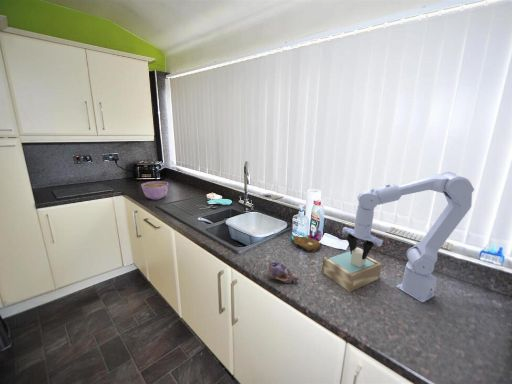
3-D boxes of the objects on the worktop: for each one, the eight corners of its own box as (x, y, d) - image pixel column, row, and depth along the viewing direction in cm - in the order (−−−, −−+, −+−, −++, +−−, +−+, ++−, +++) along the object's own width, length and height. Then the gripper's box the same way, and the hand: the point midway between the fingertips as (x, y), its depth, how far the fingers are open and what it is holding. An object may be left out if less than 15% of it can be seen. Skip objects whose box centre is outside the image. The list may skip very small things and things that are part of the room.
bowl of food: (174, 198, 189) (173, 184, 186) (149, 203, 175) (147, 188, 172) (162, 193, 202) (161, 180, 199) (138, 197, 188) (136, 183, 185)
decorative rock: (285, 244, 121) (312, 257, 111) (286, 237, 119) (312, 249, 110) (298, 236, 129) (323, 247, 119) (299, 230, 127) (324, 240, 118)
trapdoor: (328, 260, 96) (328, 258, 96) (351, 252, 103) (352, 250, 103) (350, 276, 87) (351, 273, 87) (374, 266, 94) (375, 263, 94)
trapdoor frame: (321, 271, 98) (323, 257, 96) (350, 261, 106) (352, 247, 104) (349, 291, 86) (352, 276, 84) (379, 278, 94) (382, 263, 93)
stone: (365, 263, 93) (367, 251, 91) (360, 267, 90) (362, 254, 89) (355, 259, 96) (357, 247, 94) (350, 263, 93) (352, 250, 92)
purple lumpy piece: (300, 279, 93) (302, 265, 91) (292, 290, 86) (294, 275, 85) (273, 269, 99) (274, 256, 97) (264, 279, 93) (264, 265, 91)
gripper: (388, 226, 85) (382, 260, 89) (350, 215, 96) (346, 245, 99) (380, 231, 81) (373, 267, 84) (341, 218, 91) (337, 250, 95)
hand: (358, 255), depth 92 cm, fingers closed on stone, 4 cm apart
